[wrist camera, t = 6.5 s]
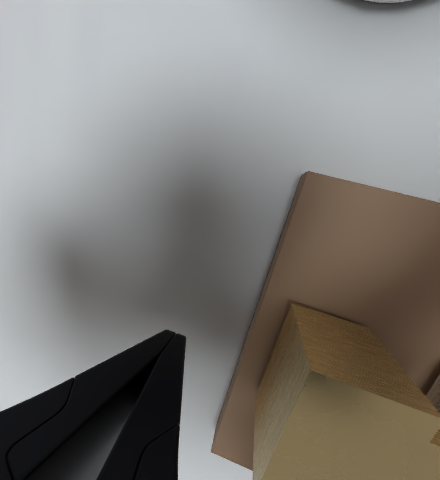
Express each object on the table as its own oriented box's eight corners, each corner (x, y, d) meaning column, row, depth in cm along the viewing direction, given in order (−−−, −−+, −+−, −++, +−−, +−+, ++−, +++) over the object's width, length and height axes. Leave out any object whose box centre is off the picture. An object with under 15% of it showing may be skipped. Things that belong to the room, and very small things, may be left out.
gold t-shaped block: (440, 351, 8) (576, 468, 4) (381, 446, 9) (451, 594, 6) (291, 302, 8) (310, 370, 5) (255, 396, 10) (251, 500, 6)
